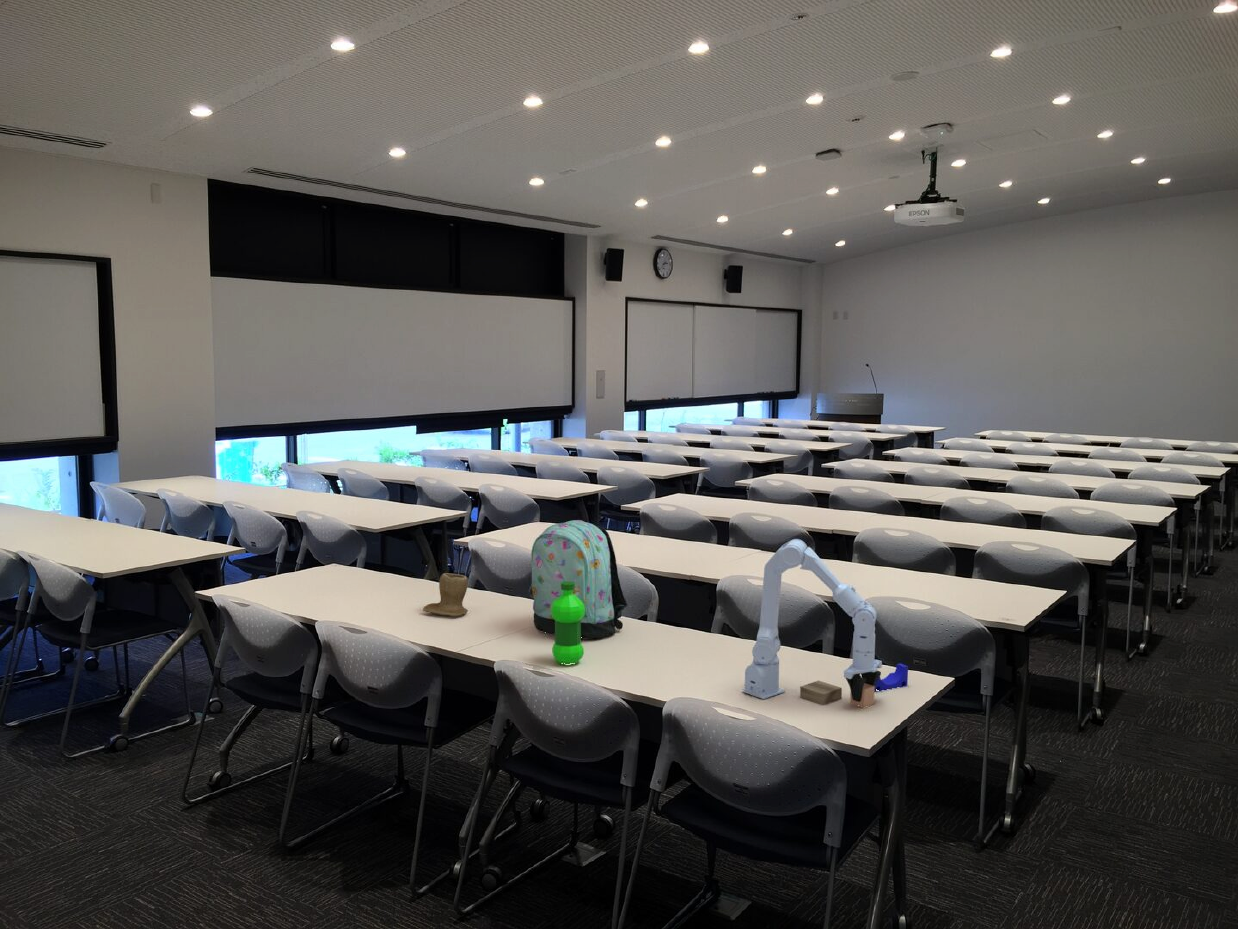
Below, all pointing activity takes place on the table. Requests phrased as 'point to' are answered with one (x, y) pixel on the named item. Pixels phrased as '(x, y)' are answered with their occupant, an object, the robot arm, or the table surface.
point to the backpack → (577, 576)
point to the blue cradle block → (893, 679)
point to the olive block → (820, 692)
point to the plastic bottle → (567, 625)
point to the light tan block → (865, 696)
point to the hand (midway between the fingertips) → (862, 698)
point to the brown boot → (450, 595)
